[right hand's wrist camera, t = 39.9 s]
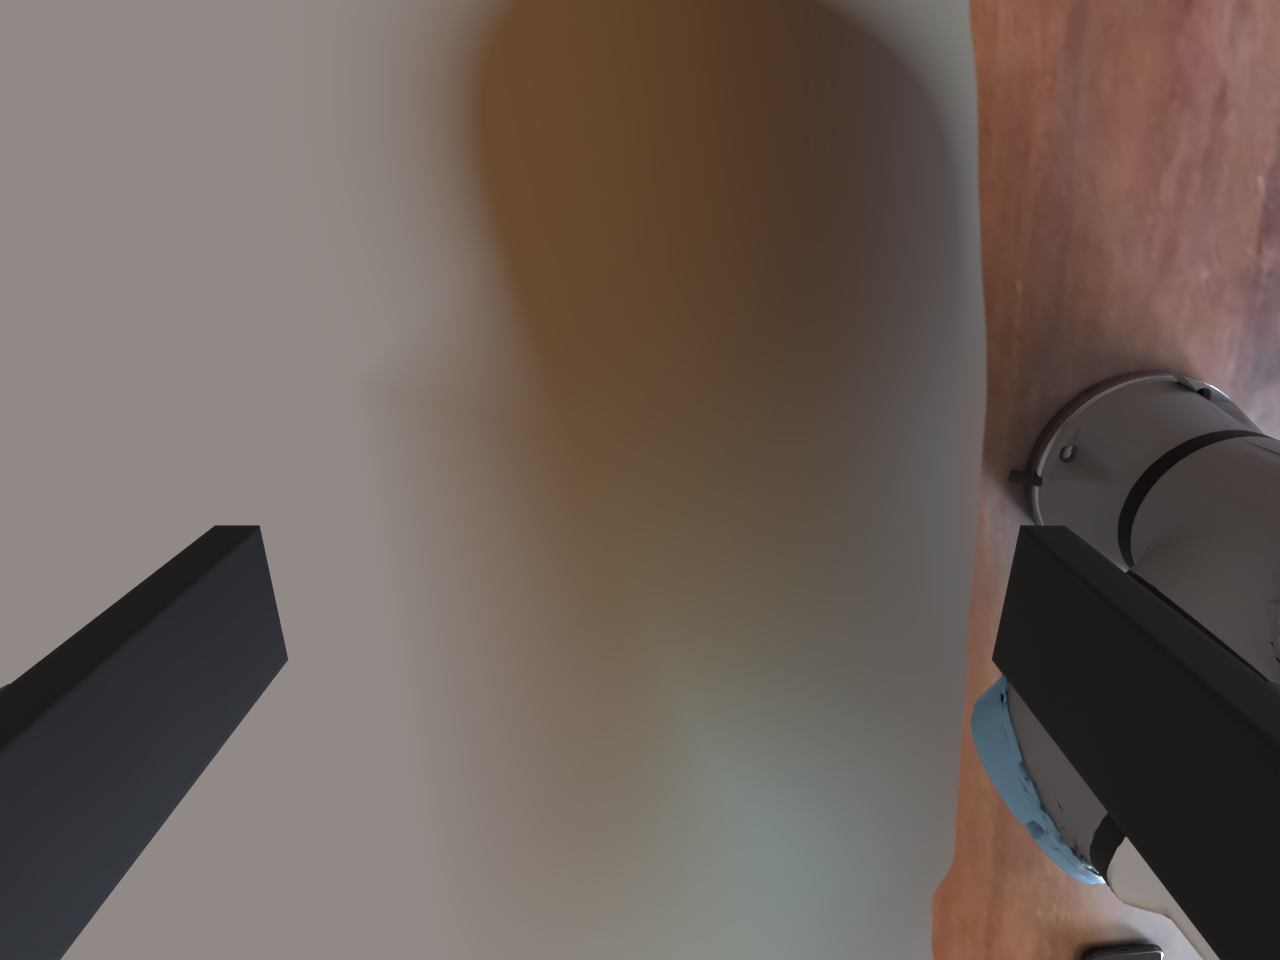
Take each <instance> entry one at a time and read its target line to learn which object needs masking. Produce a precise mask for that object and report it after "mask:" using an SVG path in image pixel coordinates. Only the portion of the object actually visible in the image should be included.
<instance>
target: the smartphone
mask: <svg viewBox="0 0 1280 960" xmlns="http://www.w3.org/2000/svg"><path fill="white" fill-rule="evenodd" d="M1162 959H1163V951H1162V949H1161V948H1160V947H1159V946H1158V945H1155V944H1146V945H1135V946H1125V947H1114V948H1104V949H1095V950H1090V951H1088V952H1087V953H1086V954H1085V956H1084V960H1162Z"/></svg>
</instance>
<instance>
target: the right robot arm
mask: <svg viewBox="0 0 1280 960" xmlns="http://www.w3.org/2000/svg"><path fill="white" fill-rule="evenodd" d="M1167 369H1168V368H1167ZM1168 370H1169V371H1170V372H1167V371H1140V372H1133V373H1128V374H1124V375H1120V376H1117V377H1114V378H1111V379H1109V380H1106V381H1104V382H1102V383H1099V384H1097V385H1095V386H1093V387H1092V388H1090V389H1088V390H1087V391H1085V392H1083V393H1082V394H1080V395H1079V396H1078V397H1076V398H1075V399H1074V400H1072V401H1071V402H1070V403H1069V404H1067V405H1066V406H1065V407H1064V408H1063V409H1062V410H1061V411H1060V412H1059V413H1058V414H1057V415H1056V416H1055V417H1054V419H1053V420H1052V421H1051V422H1050V423H1049V425H1048V426H1047V427H1046V429H1045V430H1044V432H1043V433H1042V435H1041V437H1040V438H1039V440H1038V442H1037V444H1036V446H1035V448H1034V450H1033V453H1032V456H1031V458H1030V462H1029V465H1028V470H1027V473H1025V472H1019V471H1013V470H1011V472H1010V476H1009V481H1010V482H1016V483H1022V484H1026V497H1027V503H1028V507H1029V510H1030V513H1031V515H1032V518H1033V520H1034V521H1035V523H1036V525H1037V526H1020V530H1019V535H1018V539H1017V544H1016V549H1015V554H1014V558H1013V563H1012V568H1011V572H1010V577H1009V582H1008V586H1007V591H1006V596H1005V601H1004V605H1003V610H1002V615H1001V619H1000V624H999V629H998V633H997V638H996V643H995V647H994V652H993V657H992V660H993V662H994V663H995V664H996V666H997V667H998V668H999V670H1000V671H1001V672H1002V674H1003V675H1002V677H1001V678H1000V679H999V680H998V681H997V682H996V683H995V684H994V685H992V686H991V687H990V688H989V689H988V690H987V691H986V692H985V693H984V694H983V695H982V696H981V697H980V698H979V699H978V700H977V702H976V703H975V705H974V709H973V715H972V717H971V730H972V736H973V740H974V743H975V746H976V749H977V752H978V754H979V757H980V759H981V761H982V763H983V765H984V767H985V769H986V771H987V773H988V775H989V777H990V779H991V780H992V782H993V784H994V786H995V787H996V789H997V791H998V792H999V794H1000V795H1001V797H1002V799H1003V800H1004V802H1005V803H1006V805H1007V806H1008V808H1009V809H1010V811H1011V812H1012V813H1013V815H1014V816H1015V817H1016V819H1017V820H1018V821H1019V822H1020V823H1023V824H1024V825H1025V826H1027V827H1028V830H1029V832H1030V833H1031V835H1032V837H1033V839H1034V841H1035V842H1036V843H1037V844H1038V846H1039V847H1040V848H1041V849H1042V850H1043V851H1044V852H1045V854H1046V855H1047V856H1048V857H1049V858H1050V859H1051V860H1052V861H1053V862H1054V863H1056V864H1057V865H1058V866H1059V867H1060V868H1061V869H1062V870H1064V871H1065V872H1066V873H1067V874H1069V875H1070V876H1072V877H1073V878H1075V879H1077V880H1080V881H1082V882H1085V883H1088V884H1095V883H1107V885H1108V886H1109V887H1110V889H1111V891H1112V892H1113V893H1114V894H1115V895H1116V897H1117V898H1118V899H1119V900H1121V901H1122V902H1123V903H1125V904H1127V905H1130V906H1133V907H1136V908H1140V909H1143V910H1147V911H1150V912H1154V913H1157V914H1161V915H1164V916H1166V917H1168V918H1169V919H1171V920H1172V921H1173V922H1174V923H1175V925H1176V926H1177V927H1178V929H1179V930H1180V931H1181V932H1182V934H1183V935H1184V936H1185V937H1186V939H1187V940H1188V941H1189V942H1190V944H1191V945H1192V946H1193V947H1194V949H1195V950H1196V951H1197V952H1198V954H1199V955H1200V956H1201V957H1202V959H1203V960H1280V441H1279V440H1276V439H1274V438H1271V437H1269V436H1266V435H1265V434H1264V433H1263V432H1262V431H1261V430H1260V429H1259V428H1258V427H1257V426H1256V425H1255V424H1254V423H1253V422H1252V421H1251V420H1250V419H1249V418H1248V417H1247V416H1246V415H1245V414H1244V413H1243V412H1242V411H1241V410H1240V409H1239V408H1238V407H1237V406H1236V405H1235V404H1234V403H1233V402H1232V401H1231V400H1230V399H1229V398H1228V397H1227V396H1226V395H1225V394H1224V393H1222V392H1221V391H1220V390H1218V389H1217V388H1215V387H1213V386H1211V385H1209V384H1207V383H1205V382H1202V381H1199V380H1196V379H1193V378H1190V377H1187V376H1184V375H1183V374H1182V373H1180V372H1177V371H1174V370H1171V369H1168ZM287 660H288V657H287V652H286V647H285V643H284V638H283V633H282V629H281V624H280V619H279V615H278V610H277V605H276V601H275V596H274V591H273V587H272V582H271V577H270V572H269V568H268V563H267V558H266V554H265V549H264V544H263V540H262V535H261V530H260V526H214V527H213V528H211V529H210V530H209V531H207V532H206V533H205V534H204V535H202V536H201V537H200V538H198V539H197V540H196V541H195V542H193V543H192V544H191V545H189V546H188V547H187V548H185V549H184V550H183V551H182V552H180V553H179V554H178V555H176V556H175V557H174V558H173V559H171V560H170V561H169V562H167V563H166V564H165V565H163V566H162V567H161V568H160V569H158V570H157V571H156V572H154V573H153V574H152V575H151V576H149V577H148V578H147V579H145V580H144V581H143V582H142V583H140V584H139V585H138V586H136V587H135V588H134V589H132V590H131V591H130V592H129V593H127V594H126V595H125V596H123V597H122V598H121V599H120V600H118V601H117V602H116V603H114V604H113V605H112V606H111V607H109V608H108V609H107V610H105V611H104V612H103V613H102V614H100V615H99V616H98V617H96V618H95V619H94V620H92V621H91V622H90V623H89V624H87V625H86V626H85V627H83V628H82V629H81V630H80V631H78V632H77V633H76V634H74V635H73V636H72V637H70V638H69V639H68V640H67V641H65V642H64V643H63V644H61V645H60V646H59V647H58V648H56V649H55V650H54V651H52V652H51V653H50V654H49V655H47V656H46V657H45V658H43V659H42V660H41V661H39V662H38V663H37V664H36V665H34V666H33V667H32V668H30V669H29V670H28V671H27V672H25V673H24V674H23V675H21V676H20V677H19V678H17V679H16V680H15V681H14V682H12V683H11V684H7V685H6V686H4V687H2V688H0V960H60V959H61V958H62V957H63V955H64V954H65V953H66V951H67V950H68V949H69V947H70V946H71V945H72V943H73V942H74V941H75V939H76V938H77V937H78V935H79V934H80V933H81V932H82V930H83V929H84V928H85V926H86V925H87V924H88V922H89V921H90V920H91V918H92V917H93V916H94V914H95V913H96V912H97V910H98V909H99V908H100V907H101V905H102V904H103V903H104V901H105V900H106V899H107V897H108V896H109V895H110V893H111V892H112V891H113V889H114V888H115V887H116V885H117V884H118V883H119V882H120V880H121V879H122V878H123V876H124V875H125V874H126V872H127V871H128V870H129V868H130V867H131V866H132V864H133V863H134V862H135V860H136V859H137V858H138V857H139V855H140V854H141V853H142V851H143V850H144V849H145V847H146V846H147V845H148V843H149V842H150V841H151V839H152V838H153V837H154V835H155V834H156V833H157V832H158V830H159V829H160V828H161V826H162V825H163V824H164V822H165V821H166V820H167V818H168V817H169V816H170V814H171V813H172V812H173V810H174V809H175V808H176V807H177V805H178V804H179V803H180V801H181V800H182V799H183V797H184V796H185V795H186V793H187V792H188V791H189V789H190V788H191V787H192V785H193V784H194V783H195V782H196V780H197V779H198V778H199V776H200V775H201V774H202V772H203V771H204V770H205V768H206V767H207V766H208V764H209V763H210V762H211V760H212V759H213V758H214V757H215V755H216V754H217V752H218V751H219V750H220V749H221V747H222V746H223V745H224V743H225V742H226V741H227V739H228V738H229V737H230V735H231V734H232V733H233V732H234V730H235V729H236V728H237V726H238V725H239V724H240V722H241V721H242V720H243V718H244V717H245V716H246V714H247V713H248V712H249V710H250V709H251V708H252V707H253V705H254V704H255V703H256V701H257V700H258V699H259V697H260V696H261V695H262V693H263V692H264V691H265V689H266V688H267V687H268V685H269V684H270V683H271V682H272V680H273V679H274V677H275V676H276V675H277V674H278V672H279V671H280V670H281V668H282V667H283V666H284V664H285V663H286V662H287Z"/></svg>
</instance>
